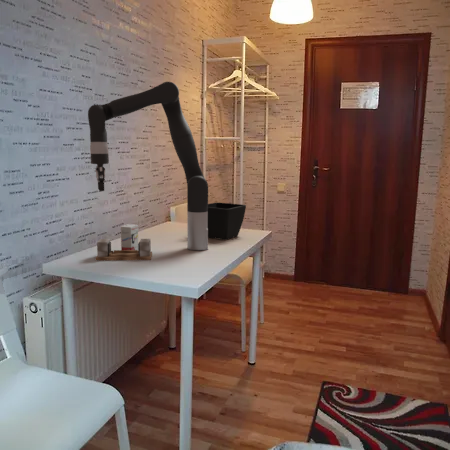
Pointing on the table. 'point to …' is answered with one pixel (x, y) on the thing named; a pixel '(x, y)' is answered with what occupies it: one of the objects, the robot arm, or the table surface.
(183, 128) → the robot arm
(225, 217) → the flower pot
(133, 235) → the ink box
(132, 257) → the rail
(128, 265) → the table surface
